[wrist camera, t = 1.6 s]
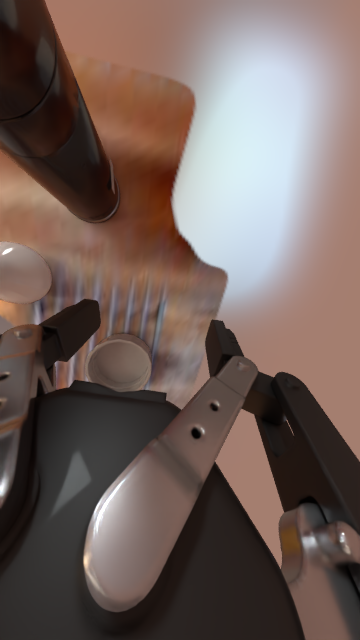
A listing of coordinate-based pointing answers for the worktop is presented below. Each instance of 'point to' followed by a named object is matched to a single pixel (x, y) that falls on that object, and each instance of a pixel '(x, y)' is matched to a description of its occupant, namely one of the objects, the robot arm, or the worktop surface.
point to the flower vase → (22, 274)
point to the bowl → (120, 363)
